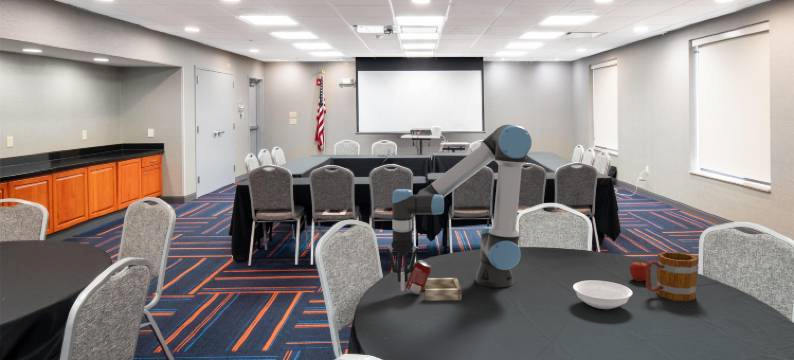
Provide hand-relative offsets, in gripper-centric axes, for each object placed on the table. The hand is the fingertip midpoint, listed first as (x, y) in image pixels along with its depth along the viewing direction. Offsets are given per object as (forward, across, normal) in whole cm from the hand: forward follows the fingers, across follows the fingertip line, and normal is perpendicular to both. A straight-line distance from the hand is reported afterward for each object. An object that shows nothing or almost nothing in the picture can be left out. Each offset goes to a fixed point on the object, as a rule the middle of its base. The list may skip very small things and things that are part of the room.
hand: (402, 289), depth 197 cm
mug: (+2, -100, +6) cm, 100 cm away
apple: (+2, -98, -12) cm, 99 cm away
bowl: (+2, -71, +15) cm, 73 cm away
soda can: (+1, -4, 0) cm, 4 cm away
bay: (+2, -14, 0) cm, 14 cm away
